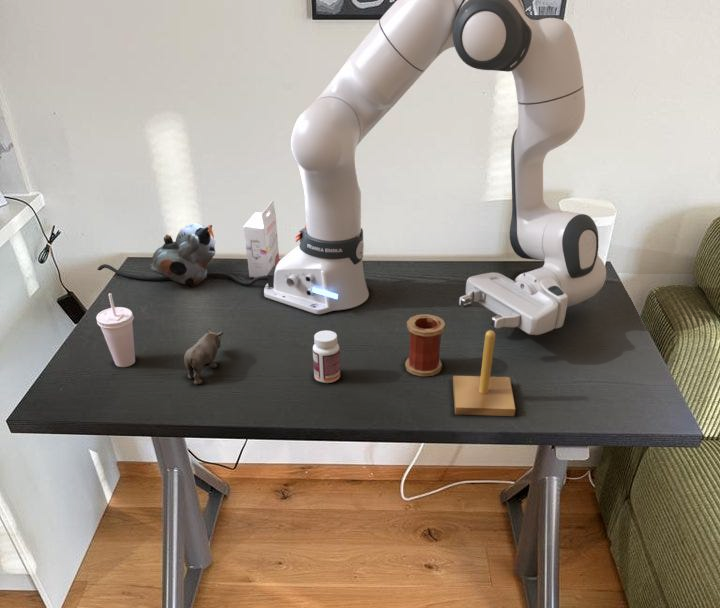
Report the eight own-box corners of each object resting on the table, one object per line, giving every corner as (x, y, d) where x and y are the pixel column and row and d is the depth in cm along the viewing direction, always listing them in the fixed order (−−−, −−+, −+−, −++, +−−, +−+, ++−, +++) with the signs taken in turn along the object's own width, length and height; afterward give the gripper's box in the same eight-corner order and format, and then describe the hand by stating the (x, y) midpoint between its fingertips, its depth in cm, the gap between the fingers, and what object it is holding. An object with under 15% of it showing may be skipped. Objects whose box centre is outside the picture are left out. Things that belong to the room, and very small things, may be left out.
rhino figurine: (233, 348, 146) (229, 320, 142) (202, 386, 136) (198, 357, 132) (213, 345, 147) (209, 317, 143) (181, 383, 137) (176, 353, 133)
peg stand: (454, 414, 129) (461, 345, 120) (452, 382, 137) (458, 315, 128) (514, 416, 129) (525, 347, 120) (508, 384, 136) (518, 316, 128)
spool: (400, 371, 139) (402, 328, 134) (412, 354, 144) (414, 311, 138) (434, 379, 137) (437, 335, 132) (446, 361, 142) (449, 318, 136)
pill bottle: (343, 372, 139) (343, 331, 134) (334, 385, 136) (333, 344, 131) (319, 367, 141) (318, 327, 135) (310, 381, 137) (307, 339, 132)
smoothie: (112, 374, 139) (94, 304, 130) (103, 358, 143) (86, 289, 134) (146, 365, 141) (131, 296, 132) (137, 349, 146) (122, 281, 137)
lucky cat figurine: (160, 262, 176) (181, 204, 170) (209, 285, 177) (230, 228, 172) (139, 271, 162) (160, 209, 157) (191, 296, 163) (214, 235, 158)
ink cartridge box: (259, 261, 176) (253, 197, 167) (280, 263, 175) (275, 199, 166) (247, 277, 170) (241, 212, 160) (269, 279, 169) (263, 214, 159)
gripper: (500, 259, 151) (444, 276, 145) (574, 299, 137) (515, 319, 132) (497, 289, 155) (442, 306, 149) (568, 330, 141) (511, 351, 136)
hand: (477, 312), depth 140 cm, fingers open, 8 cm apart
